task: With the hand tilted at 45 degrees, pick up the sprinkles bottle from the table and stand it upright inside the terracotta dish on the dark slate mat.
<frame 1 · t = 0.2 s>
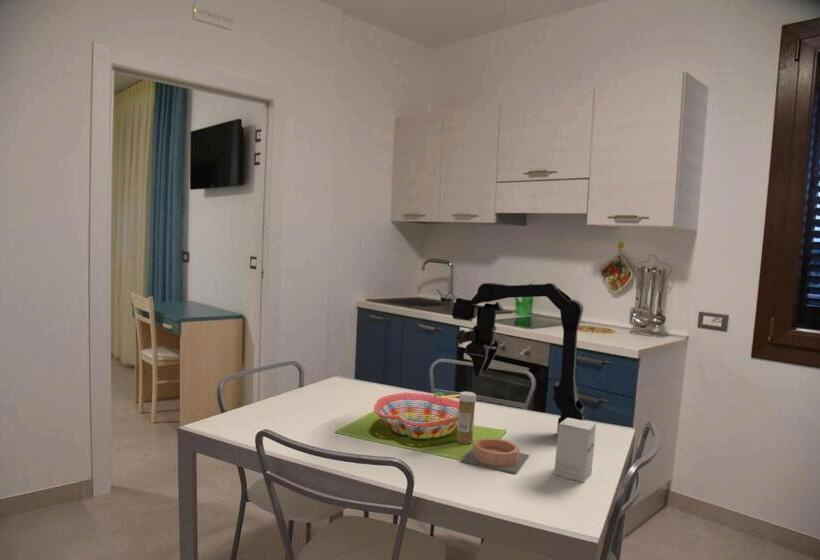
hand: (480, 373, 179), 15 cm above the table, tool pointing down, fingers open, 9 cm apart
sprinkles bottle: (464, 442, 158), on the table
supplement box: (573, 475, 139), on the table
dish: (495, 459, 146), on the table
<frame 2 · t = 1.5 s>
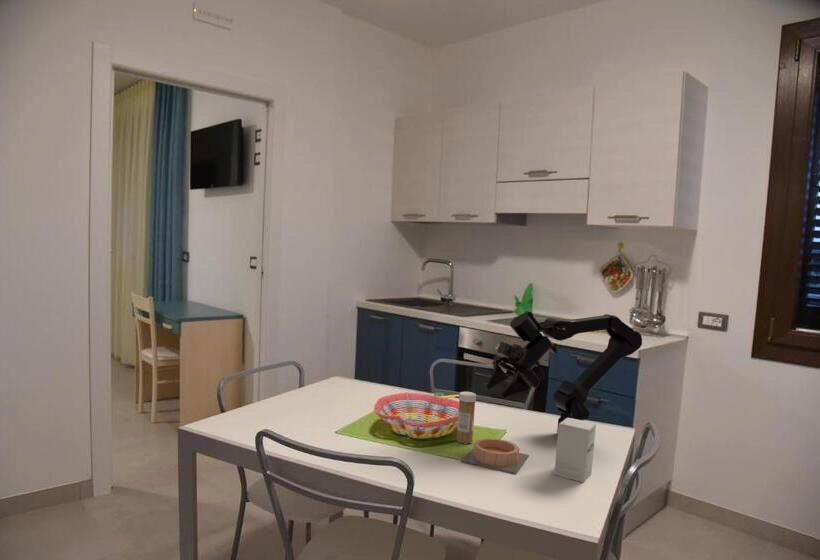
hand: (494, 392, 160), 14 cm above the table, tool tilted 45°, fingers open, 9 cm apart
nothing on the table moved.
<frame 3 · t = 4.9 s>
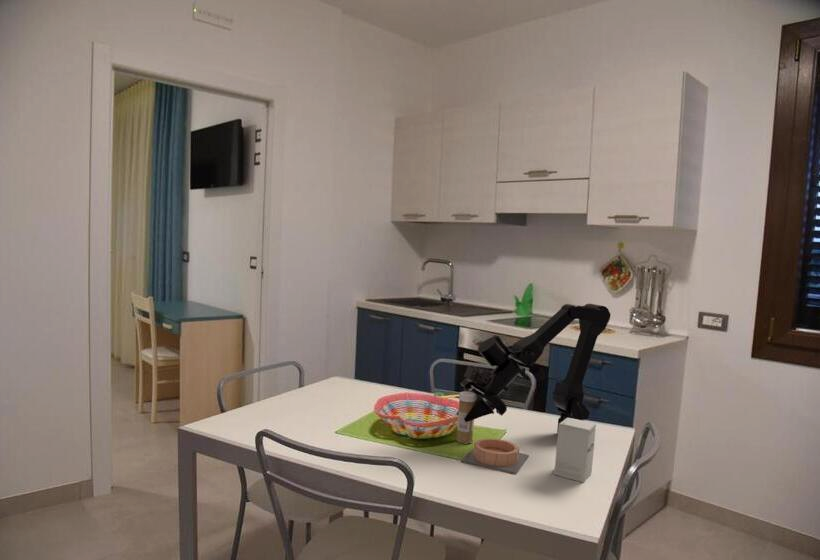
hand: (461, 418, 157), 7 cm above the table, tool tilted 45°, fingers closed on sprinkles bottle, 4 cm apart
sprinkles bottle: (464, 442, 158), on the table, touching gripper
everything else where it was.
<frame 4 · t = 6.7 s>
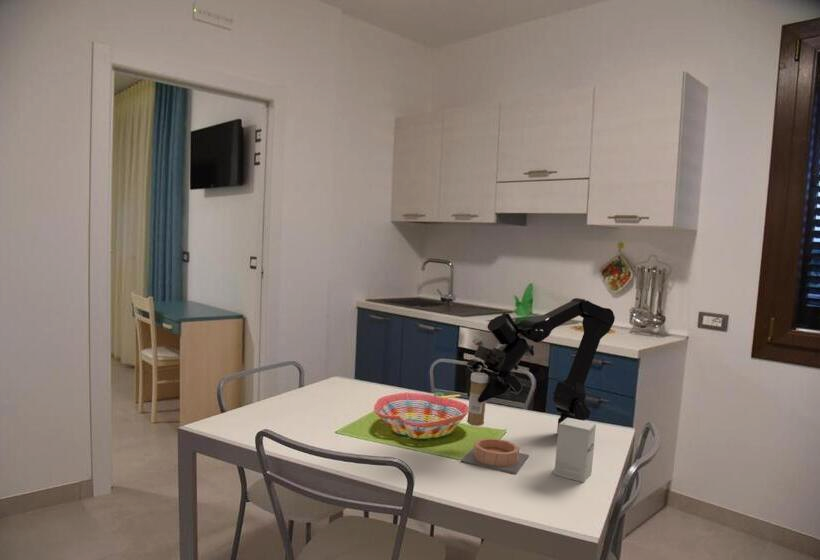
hand: (473, 399, 151), 13 cm above the table, tool tilted 45°, fingers closed on sprinkles bottle, 4 cm apart
sprinkles bottle: (475, 424, 153), point 6 cm above the table, touching gripper
everything else where it was.
when the fingers open (9 cm above the table, at t = 8.7 s): sprinkles bottle drops 1 cm, resting on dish.
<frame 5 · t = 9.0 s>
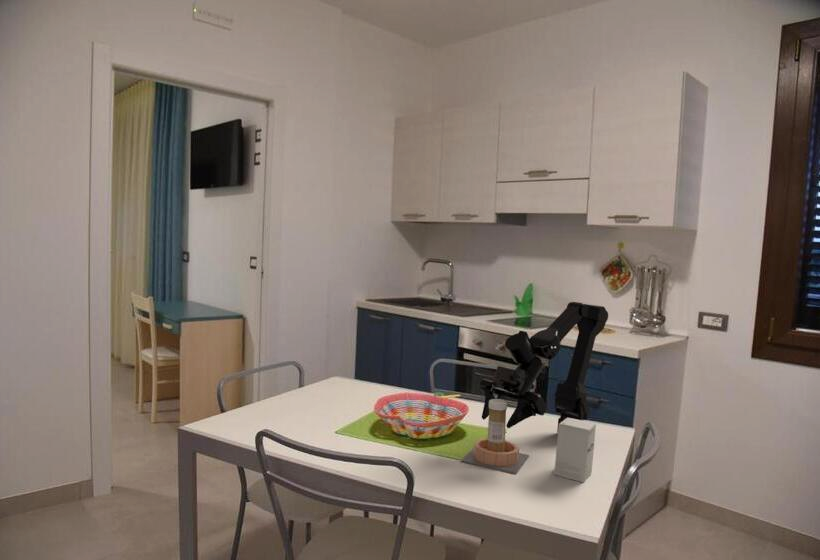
hand: (494, 422, 144), 10 cm above the table, tool tilted 45°, fingers open, 8 cm apart
sprinkles bottle: (495, 453, 146), point 1 cm above the table, touching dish
everything else where it was.
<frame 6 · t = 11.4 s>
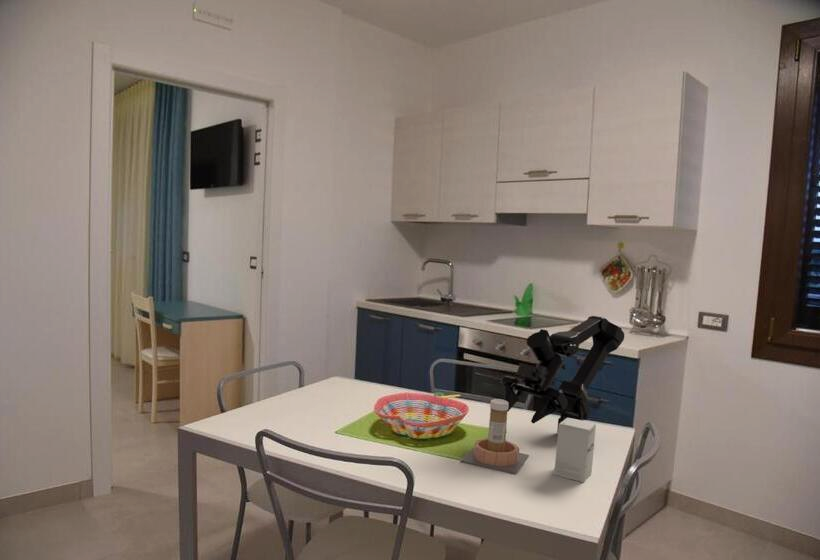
hand: (517, 417, 151), 9 cm above the table, tool tilted 45°, fingers open, 9 cm apart
nothing on the table moved.
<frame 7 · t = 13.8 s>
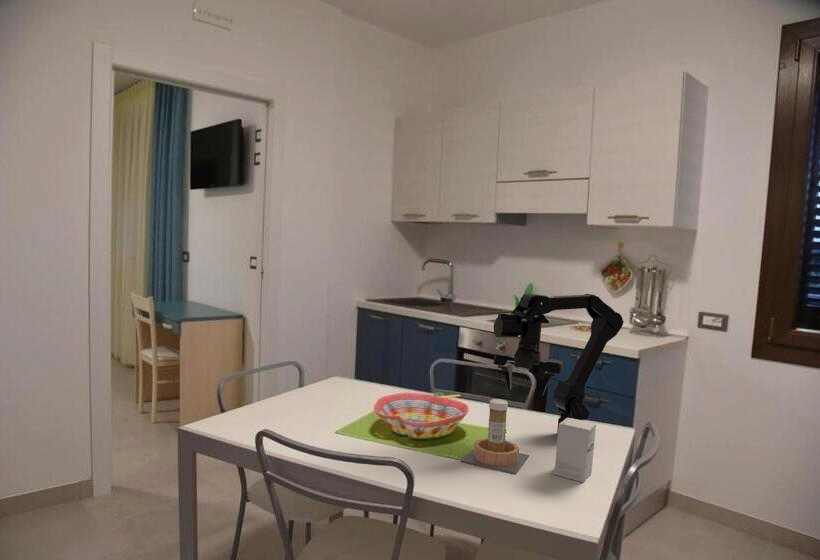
hand: (525, 392, 164), 13 cm above the table, tool pointing down, fingers open, 9 cm apart
nothing on the table moved.
at the end: sprinkles bottle 0.4 cm off-centre on the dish, point 1.2 cm above the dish's base; sprinkles bottle tilted 0°; the gripper is holding nothing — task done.
